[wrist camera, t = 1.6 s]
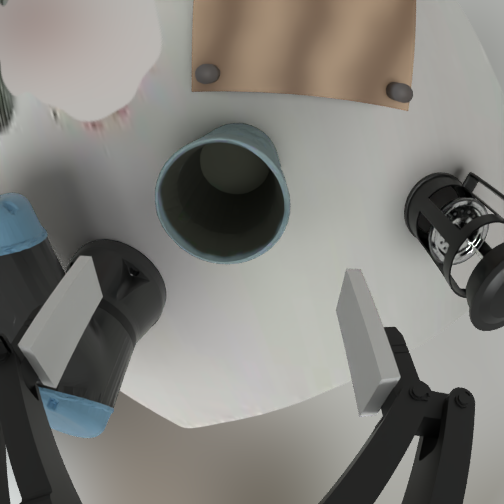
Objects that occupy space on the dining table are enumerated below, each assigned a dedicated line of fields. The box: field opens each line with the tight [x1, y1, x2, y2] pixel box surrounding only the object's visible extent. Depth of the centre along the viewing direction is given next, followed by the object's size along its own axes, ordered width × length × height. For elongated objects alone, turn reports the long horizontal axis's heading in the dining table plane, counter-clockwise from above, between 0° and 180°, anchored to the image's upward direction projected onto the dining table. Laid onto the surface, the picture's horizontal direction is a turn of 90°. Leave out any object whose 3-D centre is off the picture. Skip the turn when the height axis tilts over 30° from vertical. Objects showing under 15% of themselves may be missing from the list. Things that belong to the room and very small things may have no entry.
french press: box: [404, 172, 504, 331], centre depth 25 cm, size 12×9×23 cm
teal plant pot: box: [155, 123, 290, 264], centre depth 28 cm, size 10×10×12 cm
